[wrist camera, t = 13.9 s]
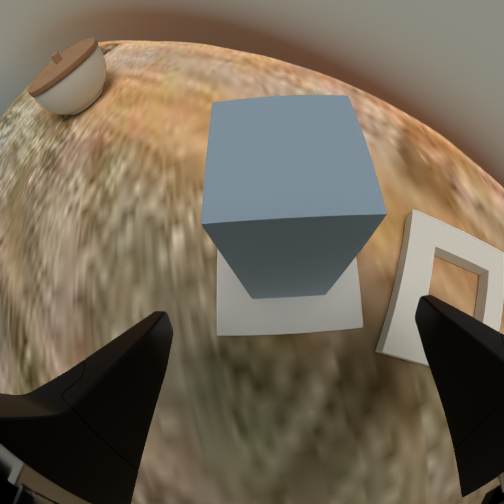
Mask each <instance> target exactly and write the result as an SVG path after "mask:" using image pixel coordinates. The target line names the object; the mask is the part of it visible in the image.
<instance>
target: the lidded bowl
mask: <svg viewBox="0 0 504 504" xmlns="http://www.w3.org/2000/svg"><path fill="white" fill-rule="evenodd" d="M51 57H52V59H53V60H52V61H51V62H50V63H49V64H48V65H47V66H46V67H45V68H44V69H43V70H42V71H41V72H40V73H39V74H38V75H37V76H36V77H35V79H34V80H33V82H32V83H31V85H30V86H29V89H28V93H29V94H30V95H31V96H32V97H34V99H35V100H36V101H37V102H38V103H39V104H40V105H41V106H42V107H43V108H45V109H46V110H48V111H49V112H51V113H54V114H58V115H66V114H69V115H76V114H78V113H80V112H82V111H84V110H85V109H86V108H88V107H89V106H90V105H91V104H93V103H94V102H95V101H96V100H97V99H98V97H99V96H100V95H101V93H102V92H103V89H104V87H103V85H104V83H105V79H106V74H107V69H106V62H105V59H104V56H103V53H102V51H101V49H100V48H99V46H98V42H97V40H96V39H95V38H89V39H86V40H83V41H81V42H79V43H77V44H75V45H73V46H72V47H70V48H68V49H67V50H65V51H64V52H63V53H61V54H60V55H59V53H58V52H56V53H54V54H53V55H52V56H51Z"/></svg>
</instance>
